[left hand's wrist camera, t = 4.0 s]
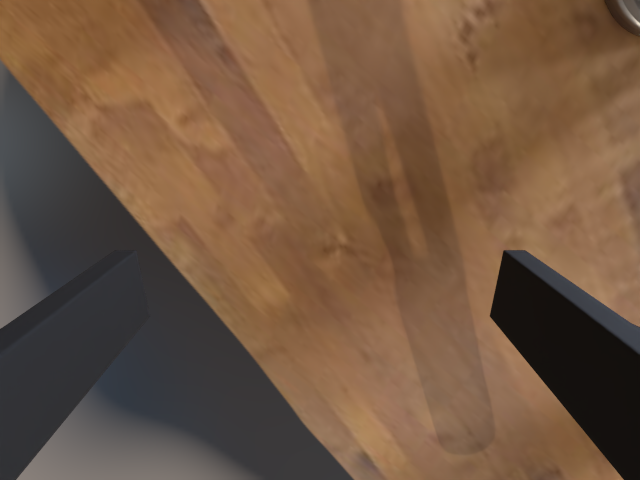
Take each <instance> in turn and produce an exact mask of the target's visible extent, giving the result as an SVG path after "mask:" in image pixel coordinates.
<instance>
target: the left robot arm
mask: <svg viewBox="0 0 640 480" xmlns="http://www.w3.org/2000/svg"><path fill="white" fill-rule="evenodd" d="M605 2H606V4H607V7H608V9H609V11H610V12H611V14H612V16H613V17H614V18H615V20H616V21H617V22H618V23H619V24H620V25H621V26H622V27H623V28H625V29H626V30H627V31H629V32H631V33H633V34H635V35H638V36H640V0H605ZM149 317H150V313H149V308H148V304H147V299H146V294H145V289H144V285H143V280H142V275H141V270H140V266H139V261H138V256H137V252H136V250H115V251H113V252H112V253H110V254H109V255H107V256H106V257H105V258H103V259H102V260H100V261H99V262H97V263H96V264H94V265H93V266H92V267H90V268H89V269H87V270H86V271H84V272H83V273H81V274H80V275H78V276H77V277H76V278H74V279H73V280H71V281H70V282H68V283H67V284H65V285H64V286H62V287H61V288H60V289H58V290H57V291H55V292H54V293H52V294H51V295H49V296H48V297H46V298H45V299H44V300H42V301H41V302H39V303H38V304H36V305H35V306H33V307H32V308H30V309H29V310H28V311H26V312H25V313H23V314H22V315H20V316H19V317H17V318H16V319H15V320H13V321H12V322H10V323H9V324H7V325H6V326H4V327H3V328H1V329H0V480H16V479H17V478H18V477H19V475H20V474H21V473H22V472H23V471H24V469H25V468H26V467H27V466H28V464H29V463H30V462H31V461H32V459H33V458H34V457H35V456H36V455H37V453H38V452H39V451H40V450H41V449H42V447H43V446H44V445H45V444H46V442H47V441H48V440H49V439H50V438H51V436H52V435H53V434H54V433H55V432H56V430H57V429H58V428H59V427H60V425H61V424H62V423H63V422H64V421H65V419H66V418H67V417H68V416H69V414H70V413H71V412H72V411H73V410H74V408H75V407H76V406H77V405H78V404H79V402H80V401H81V400H82V399H83V397H84V396H85V395H86V394H87V393H88V391H89V390H90V389H91V388H92V386H93V385H94V384H95V383H96V382H97V380H98V379H99V378H100V377H101V375H102V374H103V373H104V372H105V371H106V369H107V368H108V367H109V366H110V365H111V363H112V362H113V361H114V360H115V358H116V357H117V356H118V355H119V354H120V352H121V351H122V350H123V349H124V347H125V346H126V345H127V344H128V343H129V341H130V340H131V339H132V338H133V336H134V335H135V334H136V333H137V332H138V330H139V329H140V328H141V327H142V326H143V324H144V323H145V322H146V321H147V319H148V318H149ZM490 317H491V318H492V319H493V321H494V322H495V323H496V324H497V326H498V327H499V328H500V329H501V330H502V332H503V333H504V334H505V335H506V336H507V338H508V339H509V340H510V341H511V343H512V344H513V345H514V346H515V347H516V349H517V350H518V351H519V352H520V354H521V355H522V356H523V357H524V358H525V360H526V361H527V362H528V363H529V365H530V366H531V367H532V368H533V369H534V371H535V372H536V373H537V374H538V375H539V377H540V378H541V379H542V380H543V382H544V383H545V384H546V385H547V386H548V388H549V389H550V390H551V391H552V393H553V394H554V395H555V396H556V397H557V399H558V400H559V401H560V402H561V404H562V405H563V406H564V407H565V408H566V410H567V411H568V412H569V413H570V414H571V416H572V417H573V418H574V419H575V421H576V422H577V423H578V424H579V425H580V427H581V428H582V429H583V430H584V432H585V433H586V434H587V435H588V436H589V438H590V439H591V440H592V441H593V443H594V444H595V445H596V446H597V447H598V449H599V450H600V451H601V452H602V453H603V455H604V456H605V457H606V458H607V460H608V461H609V462H610V463H611V464H612V466H613V467H614V468H615V469H616V471H617V472H618V473H619V474H620V475H621V477H622V478H623V479H624V480H640V327H638V326H636V325H634V324H632V323H630V322H628V321H627V320H626V319H624V318H623V317H621V316H620V315H618V314H617V313H615V312H614V311H612V310H611V309H610V308H608V307H607V306H605V305H604V304H602V303H601V302H599V301H598V300H596V299H595V298H594V297H592V296H591V295H589V294H588V293H586V292H585V291H583V290H582V289H580V288H579V287H578V286H576V285H575V284H573V283H572V282H570V281H569V280H567V279H566V278H565V277H563V276H562V275H560V274H559V273H557V272H556V271H554V270H553V269H551V268H550V267H549V266H547V265H546V264H544V263H543V262H541V261H540V260H538V259H537V258H535V257H534V256H533V255H531V254H530V253H528V252H527V251H525V250H504V251H503V256H502V261H501V266H500V270H499V275H498V280H497V285H496V289H495V294H494V299H493V304H492V308H491V313H490Z"/></svg>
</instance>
